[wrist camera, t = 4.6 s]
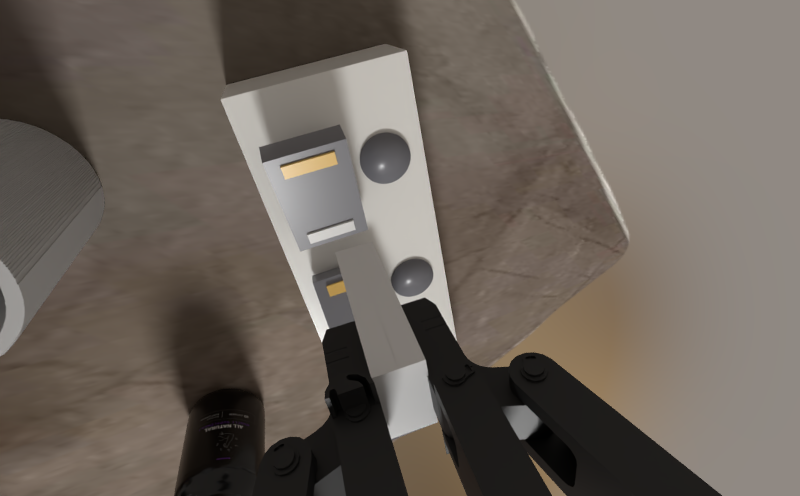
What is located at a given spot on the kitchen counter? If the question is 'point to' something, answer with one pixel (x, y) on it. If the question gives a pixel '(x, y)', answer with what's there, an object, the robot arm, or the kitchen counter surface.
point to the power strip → (371, 158)
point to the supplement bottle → (222, 445)
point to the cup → (40, 219)
